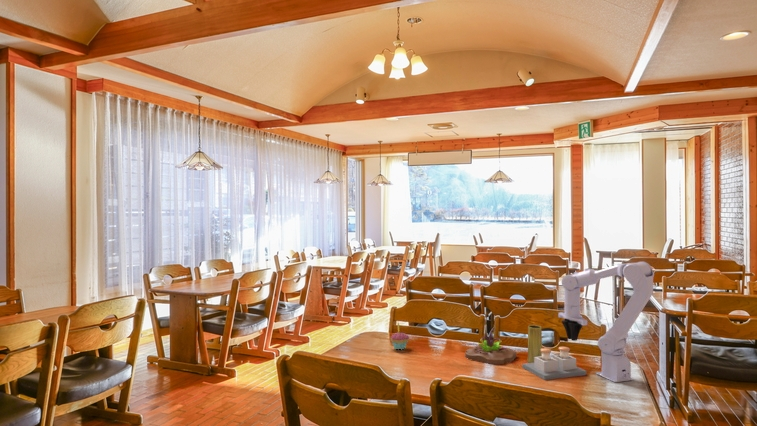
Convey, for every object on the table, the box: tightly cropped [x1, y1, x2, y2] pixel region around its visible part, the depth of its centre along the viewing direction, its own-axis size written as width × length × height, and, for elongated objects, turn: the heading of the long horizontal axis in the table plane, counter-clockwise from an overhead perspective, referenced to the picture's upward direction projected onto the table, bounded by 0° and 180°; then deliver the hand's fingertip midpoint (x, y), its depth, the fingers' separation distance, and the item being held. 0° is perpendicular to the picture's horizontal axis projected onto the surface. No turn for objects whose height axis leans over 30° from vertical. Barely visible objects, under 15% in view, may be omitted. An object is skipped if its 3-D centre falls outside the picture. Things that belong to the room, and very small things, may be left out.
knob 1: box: [541, 347, 552, 361], centre depth 173 cm, size 4×4×5 cm
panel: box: [521, 354, 587, 381], centre depth 175 cm, size 14×18×5 cm
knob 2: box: [558, 346, 570, 359], centre depth 175 cm, size 4×4×5 cm
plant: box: [464, 329, 517, 365], centre depth 194 cm, size 20×20×11 cm
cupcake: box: [390, 322, 410, 350], centre depth 206 cm, size 9×8×12 cm
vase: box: [526, 324, 543, 363], centre depth 186 cm, size 6×6×14 cm
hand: (572, 339), depth 181 cm, fingers closed
